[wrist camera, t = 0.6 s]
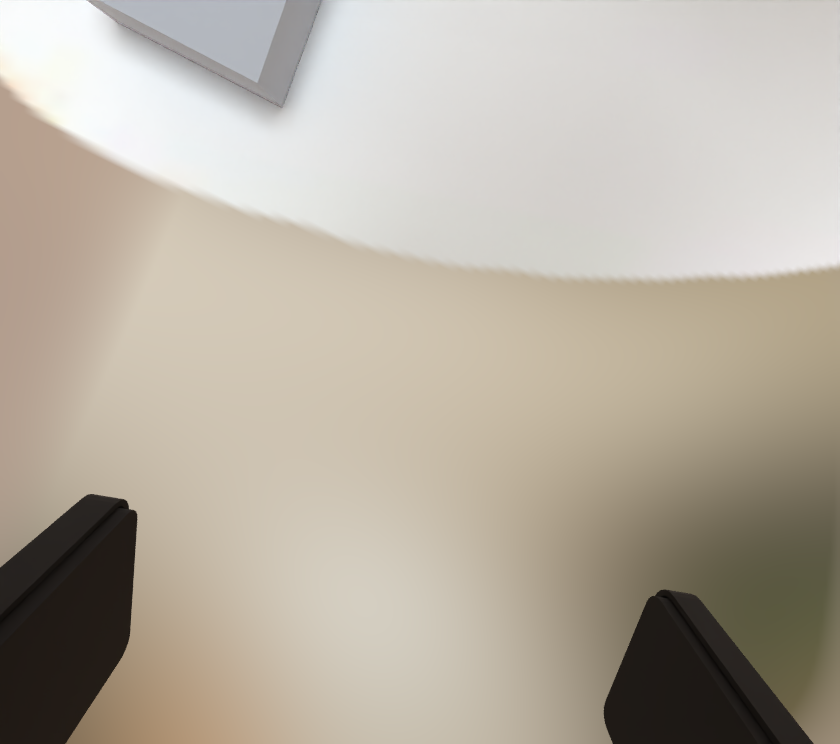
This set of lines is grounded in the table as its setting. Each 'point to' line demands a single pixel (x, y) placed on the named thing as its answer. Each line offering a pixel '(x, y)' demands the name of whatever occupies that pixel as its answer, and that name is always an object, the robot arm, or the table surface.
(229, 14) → the slate base
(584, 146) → the table surface
